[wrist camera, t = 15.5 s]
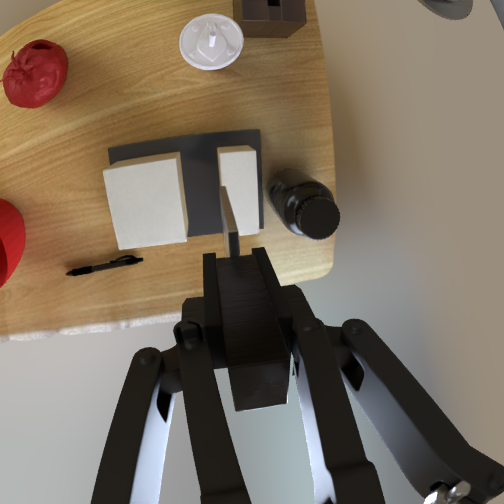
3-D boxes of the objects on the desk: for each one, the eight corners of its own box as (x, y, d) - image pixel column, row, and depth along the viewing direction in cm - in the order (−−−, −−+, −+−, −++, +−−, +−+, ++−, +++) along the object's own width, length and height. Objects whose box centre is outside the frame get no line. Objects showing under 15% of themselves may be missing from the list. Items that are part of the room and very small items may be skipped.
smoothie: (185, 82, 32) (175, 64, 20) (183, 37, 29) (174, 0, 17) (235, 78, 33) (252, 59, 21) (233, 34, 30) (249, -3, 18)
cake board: (258, 128, 37) (259, 129, 36) (262, 226, 43) (263, 228, 42) (109, 147, 34) (107, 148, 33) (127, 241, 41) (125, 244, 40)
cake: (179, 151, 35) (175, 158, 30) (188, 223, 40) (186, 241, 35) (116, 161, 34) (102, 170, 29) (129, 231, 39) (119, 250, 34)
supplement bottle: (283, 222, 43) (310, 261, 33) (255, 188, 40) (275, 217, 30) (320, 193, 42) (358, 223, 32) (294, 157, 39) (328, 176, 29)
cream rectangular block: (248, 145, 37) (256, 150, 31) (251, 216, 41) (259, 233, 36) (217, 147, 36) (219, 153, 31) (222, 219, 41) (226, 237, 35)
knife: (235, 184, 25) (292, 327, 9) (239, 247, 28) (286, 420, 12) (209, 187, 25) (222, 337, 9) (216, 250, 27) (238, 428, 12)
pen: (141, 250, 42) (140, 254, 41) (144, 260, 42) (143, 264, 41) (64, 266, 40) (62, 270, 39) (68, 275, 41) (66, 279, 40)
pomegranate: (77, 98, 30) (45, 97, 22) (21, 116, 29) (-15, 122, 21) (76, 34, 26) (47, 19, 17) (20, 56, 24) (-15, 50, 16)
